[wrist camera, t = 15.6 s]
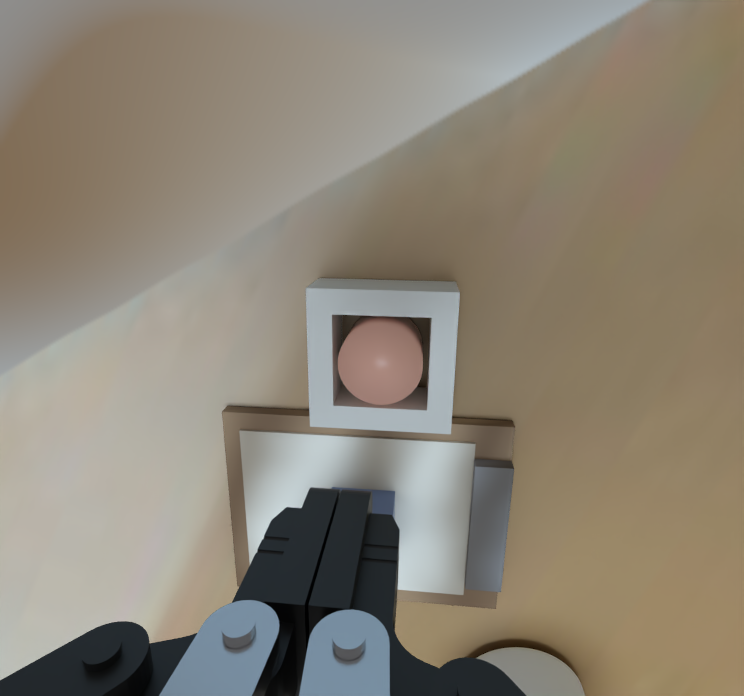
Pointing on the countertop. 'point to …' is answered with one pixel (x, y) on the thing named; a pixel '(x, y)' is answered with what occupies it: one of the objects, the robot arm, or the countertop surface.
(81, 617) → the countertop surface
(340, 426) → the button housing
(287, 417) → the clipboard
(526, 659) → the beverage can
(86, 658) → the robot arm
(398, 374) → the button
